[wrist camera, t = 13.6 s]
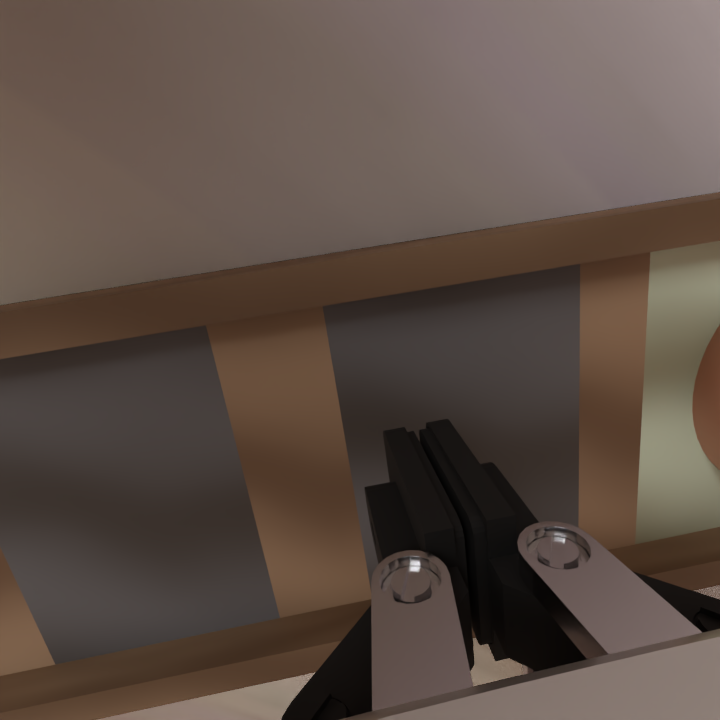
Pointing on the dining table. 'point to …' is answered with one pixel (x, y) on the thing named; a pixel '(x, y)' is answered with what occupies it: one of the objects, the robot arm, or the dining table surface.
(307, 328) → the trap lane
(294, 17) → the dining table surface
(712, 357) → the salmon rounded disc
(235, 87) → the dining table surface
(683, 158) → the dining table surface
